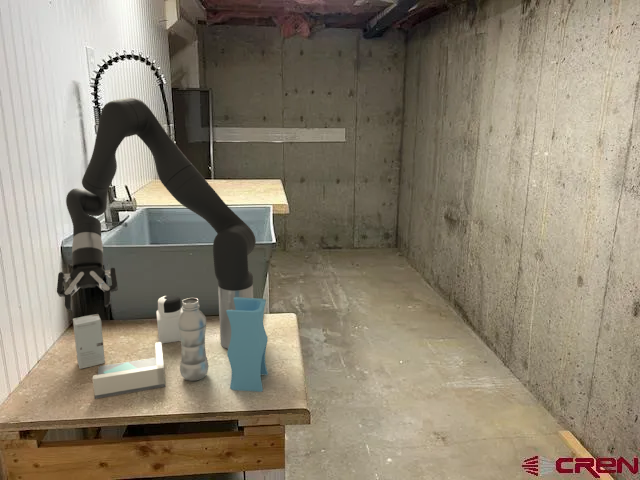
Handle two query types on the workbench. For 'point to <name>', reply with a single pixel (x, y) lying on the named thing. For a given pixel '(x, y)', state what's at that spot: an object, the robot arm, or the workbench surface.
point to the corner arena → (130, 376)
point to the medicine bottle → (168, 318)
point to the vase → (247, 344)
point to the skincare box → (89, 341)
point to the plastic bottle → (192, 341)
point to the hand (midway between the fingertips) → (88, 308)
